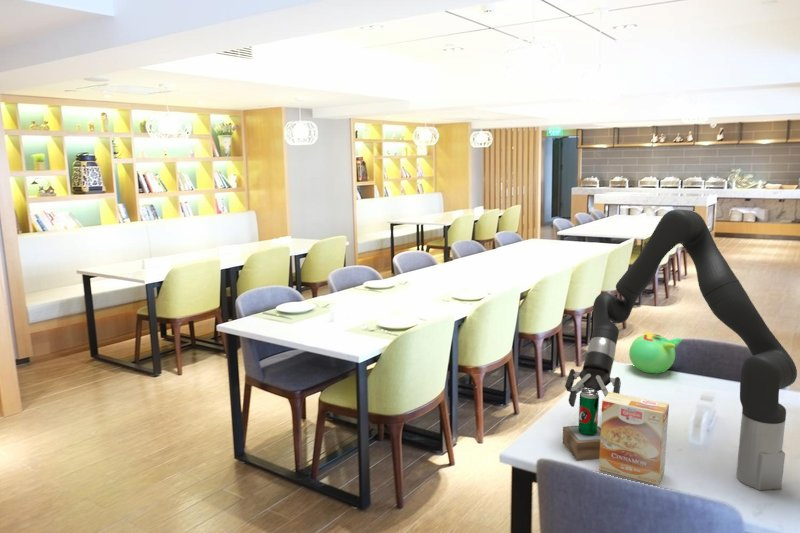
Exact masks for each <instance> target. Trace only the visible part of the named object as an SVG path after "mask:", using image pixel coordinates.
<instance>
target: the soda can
mask: <svg viewBox="0 0 800 533" xmlns="http://www.w3.org/2000/svg"><path fill="white" fill-rule="evenodd" d="M578 402H579V405H578V408H579V409H578V425H577V426H578V430H579V432H580V433H582V434H584V435H588V436H591V435H595V434H596V433H597V428H598V426H599V424H598V423H599V406H600V405H599V404H600V395H599V391H596V390H593V389H587V388H585V389H583V390H582V391H580V392H579V401H578Z"/></svg>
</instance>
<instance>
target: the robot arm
mask: <svg viewBox="0 0 800 533" xmlns="http://www.w3.org/2000/svg"><path fill="white" fill-rule="evenodd" d="M677 245H681V246H682V247H683V248H684V249H685V251H686V252H687V254H688V255H689V257H690V259H691V260H692V262H693V265H694V267H695V271H696V276H697V277H696V278H697V283H698V287H699V290H700V293H701V296H702V298H703V299H704V301H705V302H706V304H707V306H708V307H709V309H710V310H711V312H712V313H713V314H714V316H715V317H716V318H717V319H718V320H719V321H720V322H722V323H723V324H724V325H725V326H726V327H727V328H729V329H730V330H731V331H733V332H734V333H735V335H736V334H737V335H738V336H739V337H740V339H741V340H742V341H743V342H744V343H745V345H746V347H747V348H748V351H749V352H750V353H751V356H749V357H747V358H746V359H745V360H744V361H743V363H742V365H741V369H740V375H739V376H740V379H739V381H740V383H739V401H740V404H741V407H742V408H741V409H742V410H741V420H740V431H739V439H738V440H739V444H738V452H737V463H736V464H737V466H736V478H737V479H738V481H740V482H741V483H743V484H745V485H746V486H748V487H752V488H755V489H756V490H757V491H767V490H768V491H769V490H777V489H782V486H783V478H784V477H783V476H784V469H785V468H784V467H785V459H786V453H785V452H784V451H783V446H784V436H785V427H786V419H787V418H786V417H787V409H786V408H785V406H784V405H782V404H781V403H779V401H780V400H779V397H780V396H779V395H780V390H782V389H785V388H788V387H789V386H792V385H793V384H795V382H796V380H797V377H798V370H797V366H796V364H795V362H794V360H793V359H792V356H791V355H790V354H789V353H788V351H787V350H786V349H785V347H784V346H783V345H782V344H781V342H780V341H779V340H778V339H777V337H776V336H775V334H773V332H772V331H771V330H770V328H769V327H768V325H767V324H766V322H765V321H764V319H763V317H762V316H761V314H760V312H759V311H758V309H757V308H756V307H755V304H754V303H753V302H752V300H751V298H750V296H749V295H748V293H747V291H746V290H745V287H743V285H742V283H741V282H740V280H739V279H738V277H737V276H736V274H735V273H734V272H733V270H732V268H731V266H730V265H729V264H728V262H727V261H726V259H725V257H724V256H723V254H722V253H721V252H720V249H719V248H718V246H717V244H716V241H715V240H714V238H713V236H712V234H711V232H710V229H709V228H708V226H707V223H706V221H705V219H704V218H703V217H702V215H701V214H699V213H698V212H697V211H693V210H691V209H681V208H679V209H672V210H669V211H667V212H666V213H665V214H664V215H663V216H661V218H660V220H659V221H658V224H657V225H656V226H655V228H654V230H653V232H652V233H651V236H650V237H649V239H648V241H647V242H646V244H645V245H644V247H643V248H642V250H641V252H640V253H639V254H638V256H637V258H636V259H635V260H634V261H633V263H632V264H631V265H630V267H628V269H627V270H626V271H625V272H624V273H623V275H622V276H621V277H620V278H619V280H618V281H617V282H616V284H615V290H616V291H617V292H618V294H619V295H620V296H621V297H623V299H621V298H619V297H617V296H615V295H613V294H611V293H608V292H601V293H599V294H598V295H597V296H596V298H595V299H594V301H593V306H592V313H593V330H592V334H591V338H590V341H589V344H588V346H587V351H586V354H585V355H586V356H585V359H584V362H583V367H582V369H581V371H577V370H576V371H575V369H573V368H571V369H570V370H569V374H568V375H567V379H566V382H565V385H564V388H565V389H566V391H567V392H570V393H569V397H568V403H569V405H570V407H572V408H574V407H575V404H576V399H577V396H578V395H577V394H578V393H581V391H582V390H583V389H593V390H596V391H597V392H599V391H601V392H602V394H603V396H604V397H606V396H607V394H608V393H609V392H610V391H608V388H607V386H608V385H609V384H611V385H612V386H613V390H612V392H613V393H618V394H621V386H622V385H621V384H622V382H621V378H620V377H619V376H617V377H611V373H612V369H613V364H614V361H615V358H616V356H615V355H616V348H617V344H618V343H617V342H618V339H619V336H620V335H619V334H620V330H619V327H618V326H617V325H616V324H622V323H625V322H626V321H627V320H628V319H629V318H630V315H631V314H632V313H631V312H632V311H633V308H634V306H635V303H636V301H637V300H638V299H639V297H640V295H641V294H642V293H643V292H644V291H645V290H646V288H647V287H648V286H649V285H650V284H651V283H652V281H653V280H654V278H655V275H656V274H657V271H658V269H659V266H660V265H661V263H662V261H663V259H664V258H665V256H667V254H668V253H669V252H670V251H671V250H672V249H674V248H675V247H676V246H677ZM578 378H580V379H579V380H578V381H577V382H576V383H575V384H574V382H575V380H577V379H578ZM600 410H601V412H602V408H601V409H600Z"/></svg>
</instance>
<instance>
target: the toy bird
mask: <svg viewBox="0 0 800 533" xmlns="http://www.w3.org/2000/svg"><path fill="white" fill-rule="evenodd" d="M682 341H683V339H682V337H677V338H676V337H675V338H673V339H668V338H666V337H664V336H662V335H660V334H655V333H651V332H648V331H644V334H642V335H639V336H637V337H636V338H635V339H634V340H633V341H632V343H631V345H630V347H629V351H628V352H629V355H628V356H629V360H630V362H631V363H632V365H633V366H634V367H635V368H637V369H638V370H640V371H642V372H644V373H648V374H660V373H661V374H662V373H665V372H666V371H667V370H669V369H670V368H671V367H672V366H673V364H674V362H675V359H676V350H675V349H676V347H677V346H678V345H680V343H681V342H682Z"/></svg>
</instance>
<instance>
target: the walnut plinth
mask: <svg viewBox="0 0 800 533" xmlns="http://www.w3.org/2000/svg"><path fill="white" fill-rule="evenodd" d="M600 436H601V426H600V425H598V428H597V433H596V434H595V435H591V436H588V435H584V434H582V433H580V432H579V430H578V425H568V426H562V444H563V445H564V447H565V448H566V449H567V450H568V451H569V453H570V454H571V453H572V454H571V455H572V456H573V457H574V459H575V460H576V461H584V460H596V459H599V457H600Z"/></svg>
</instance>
